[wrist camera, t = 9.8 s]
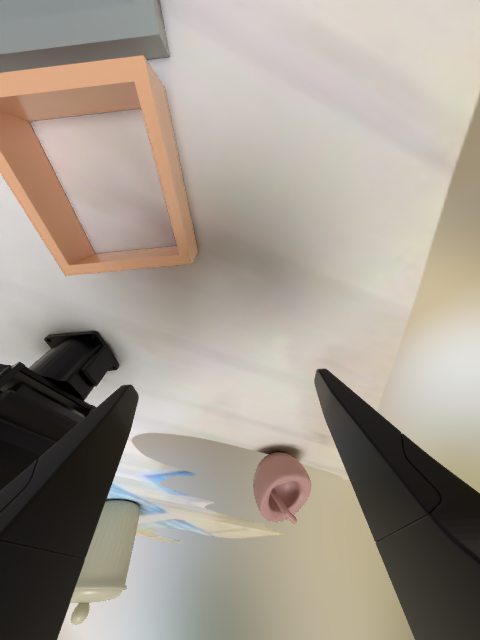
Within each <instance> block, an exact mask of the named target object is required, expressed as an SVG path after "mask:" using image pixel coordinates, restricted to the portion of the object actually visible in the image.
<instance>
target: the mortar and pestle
mask: <svg viewBox="0 0 480 640" xmlns="http://www.w3.org/2000/svg"><path fill="white" fill-rule="evenodd" d="M253 488H254V496H255V500H256V503H257V506H258V508H259V510H260V512H261V514H262V516H263V517H264V518H266V519H267V520H268V521H274V522H278V521H283V520H284V519H289V520H290V521H291V522H292V523H293V524H295V523H296V521H297V519H296V517H295V516H294V514H295V513H296V512H298V511H299V509H300V508H301V507H302V506H303V505H304V503H305V502H306V500H307V498H308V497H309V494H310V491H311V481H310V478H309V476H308V474H307V472H306V470H305V469H304V467H303V466H302V464H301V463H300V462H299V461H298V460H297V459H295V458H294V457H292V456H291V455H289V454H286V453H281V452H276V453H272V454H269V455H267V456H266V457H265V458H264V459H263V460H262V461H261V462H260V463H259V465H258V467H257V469H256V472H255V476H254V483H253Z"/></svg>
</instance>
